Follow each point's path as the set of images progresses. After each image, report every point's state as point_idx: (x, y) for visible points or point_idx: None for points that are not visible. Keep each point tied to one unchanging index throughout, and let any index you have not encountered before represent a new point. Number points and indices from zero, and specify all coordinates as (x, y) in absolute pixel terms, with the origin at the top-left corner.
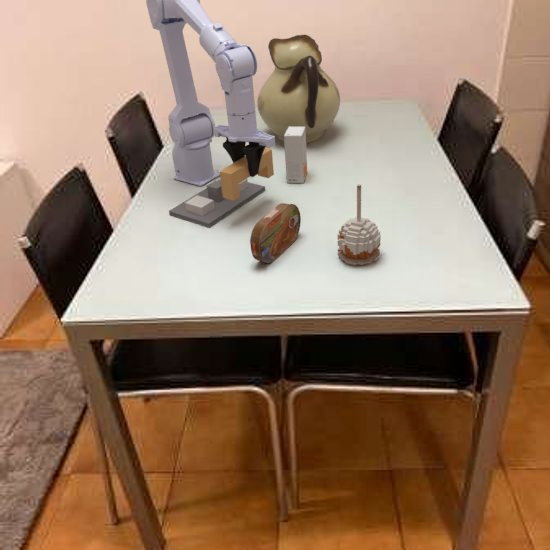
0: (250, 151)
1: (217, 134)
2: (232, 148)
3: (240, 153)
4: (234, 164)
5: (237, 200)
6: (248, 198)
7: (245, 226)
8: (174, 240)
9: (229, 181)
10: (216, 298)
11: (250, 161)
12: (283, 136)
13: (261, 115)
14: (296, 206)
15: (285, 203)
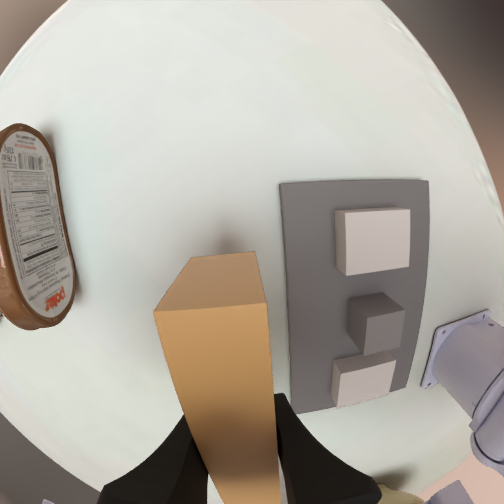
0: (103, 494)
1: (445, 502)
2: (293, 497)
3: (286, 478)
4: (255, 414)
5: (307, 337)
6: (291, 361)
7: (192, 254)
8: (310, 82)
9: (185, 287)
10: (63, 31)
11: (162, 453)
12: None
13: (412, 501)
14: (21, 327)
15: (18, 313)
